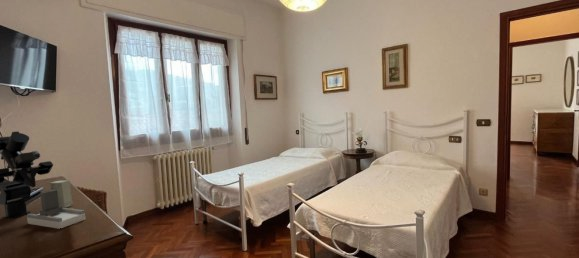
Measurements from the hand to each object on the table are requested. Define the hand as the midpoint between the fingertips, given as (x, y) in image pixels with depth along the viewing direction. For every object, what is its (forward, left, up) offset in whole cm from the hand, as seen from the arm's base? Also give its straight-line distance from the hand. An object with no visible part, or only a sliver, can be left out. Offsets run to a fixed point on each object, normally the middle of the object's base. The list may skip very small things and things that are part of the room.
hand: (34, 186), depth 113 cm
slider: (+9, -3, -11) cm, 14 cm away
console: (+12, -3, -14) cm, 19 cm away
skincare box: (-3, +14, -14) cm, 20 cm away
